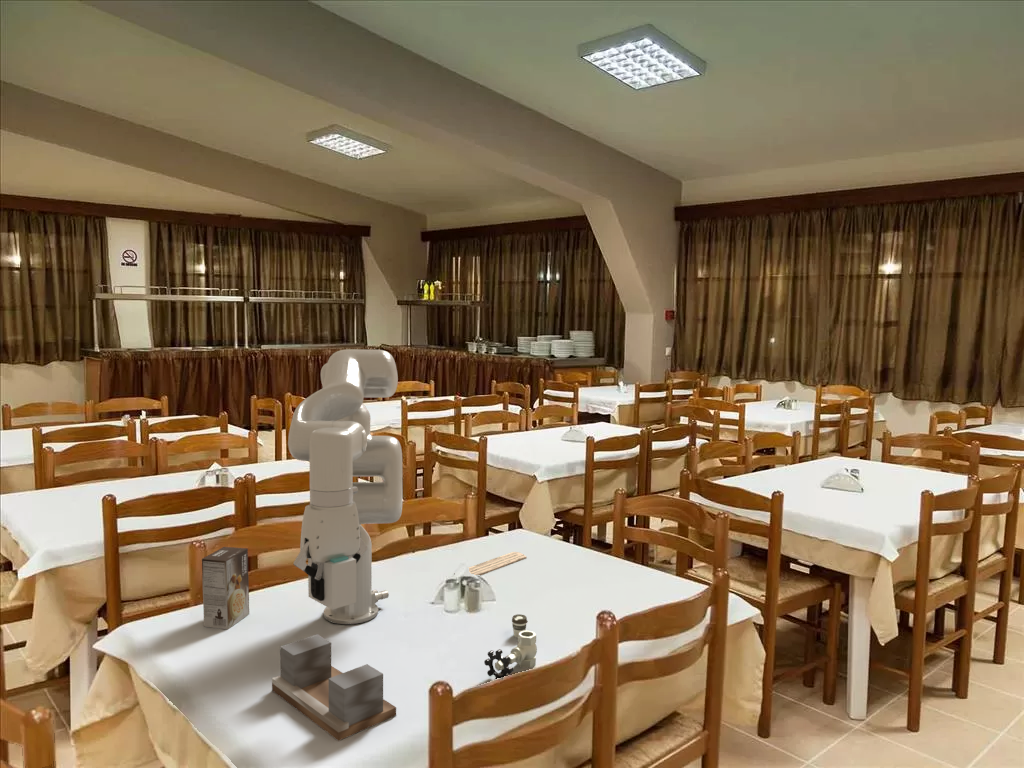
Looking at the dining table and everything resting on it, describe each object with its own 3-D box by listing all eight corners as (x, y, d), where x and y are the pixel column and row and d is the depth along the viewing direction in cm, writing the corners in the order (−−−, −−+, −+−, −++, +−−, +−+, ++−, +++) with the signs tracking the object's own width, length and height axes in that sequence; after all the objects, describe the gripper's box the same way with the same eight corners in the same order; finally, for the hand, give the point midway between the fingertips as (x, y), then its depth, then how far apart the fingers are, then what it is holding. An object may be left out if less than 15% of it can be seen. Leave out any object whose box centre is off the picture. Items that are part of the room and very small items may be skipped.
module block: (332, 590, 146) (332, 546, 145) (356, 602, 141) (356, 557, 140) (308, 596, 143) (308, 552, 142) (332, 609, 137) (331, 563, 136)
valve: (519, 656, 164) (483, 677, 155) (520, 626, 164) (484, 646, 154) (545, 665, 161) (510, 688, 151) (546, 635, 160) (510, 655, 150)
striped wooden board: (470, 581, 209) (470, 575, 208) (451, 575, 213) (451, 569, 213) (526, 560, 226) (526, 554, 226) (508, 555, 231) (508, 549, 231)
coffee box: (225, 611, 184) (224, 545, 183) (250, 614, 183) (249, 547, 181) (202, 627, 175) (201, 558, 174) (228, 630, 174) (227, 560, 172)
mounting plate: (327, 670, 156) (327, 629, 155) (396, 715, 140) (396, 670, 139) (272, 690, 148) (271, 648, 147) (338, 740, 132) (338, 693, 131)
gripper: (359, 485, 148) (359, 578, 150) (277, 500, 136) (278, 600, 138) (382, 493, 143) (382, 588, 145) (299, 509, 131) (300, 613, 133)
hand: (331, 593), depth 142 cm, fingers closed on module block, 5 cm apart
